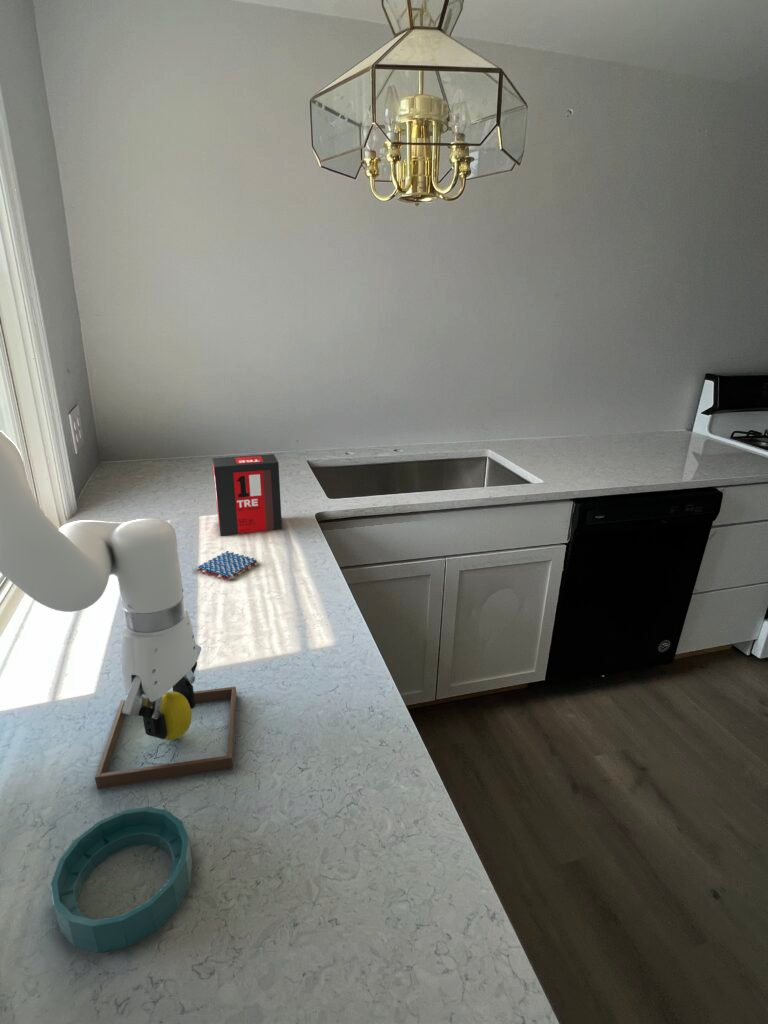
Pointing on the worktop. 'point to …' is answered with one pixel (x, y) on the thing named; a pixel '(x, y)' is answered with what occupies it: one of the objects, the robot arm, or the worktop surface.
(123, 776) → the brown wooden frame
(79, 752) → the worktop surface
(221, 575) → the woven mat
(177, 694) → the lemon
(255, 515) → the cleaning product box
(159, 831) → the teal ring
